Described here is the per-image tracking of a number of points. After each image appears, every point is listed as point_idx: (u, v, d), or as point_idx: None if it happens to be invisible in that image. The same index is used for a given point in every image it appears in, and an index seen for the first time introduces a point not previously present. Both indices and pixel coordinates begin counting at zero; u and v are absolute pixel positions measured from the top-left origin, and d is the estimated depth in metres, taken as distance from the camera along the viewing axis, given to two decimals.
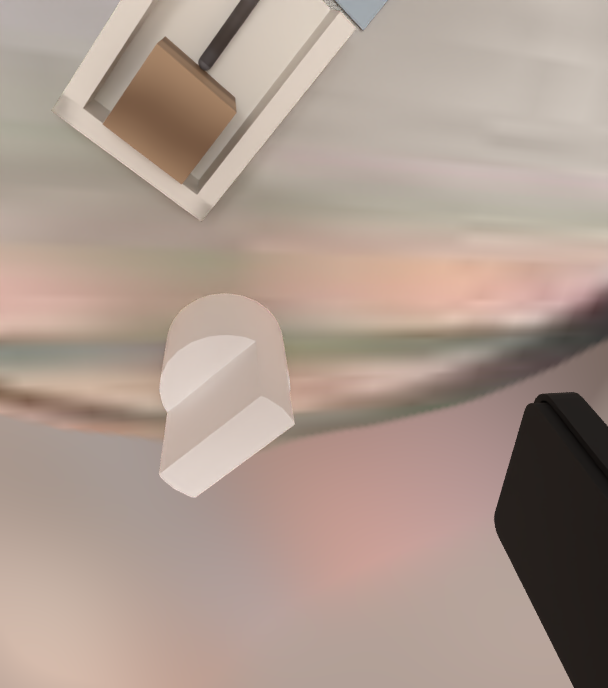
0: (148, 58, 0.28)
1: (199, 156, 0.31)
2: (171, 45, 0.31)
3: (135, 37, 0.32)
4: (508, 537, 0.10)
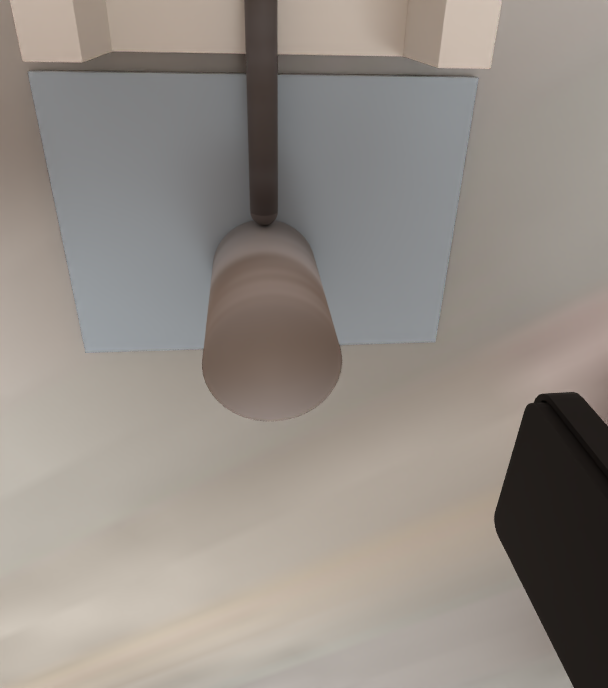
0: None
1: None
2: None
3: None
4: (508, 537, 0.10)
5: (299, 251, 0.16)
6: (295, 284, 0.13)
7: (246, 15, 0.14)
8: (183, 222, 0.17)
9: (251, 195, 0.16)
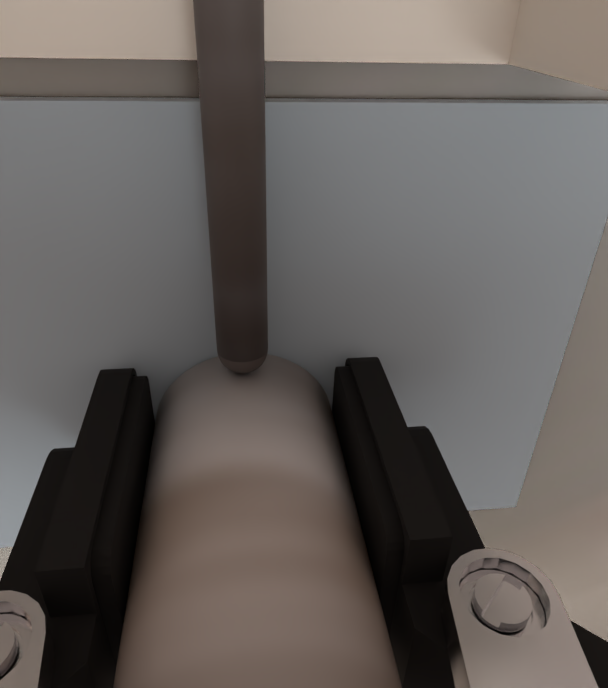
0: None
1: None
2: None
3: None
4: None
5: (310, 436, 0.08)
6: (311, 583, 0.06)
7: None
8: (99, 359, 0.10)
9: (218, 326, 0.08)
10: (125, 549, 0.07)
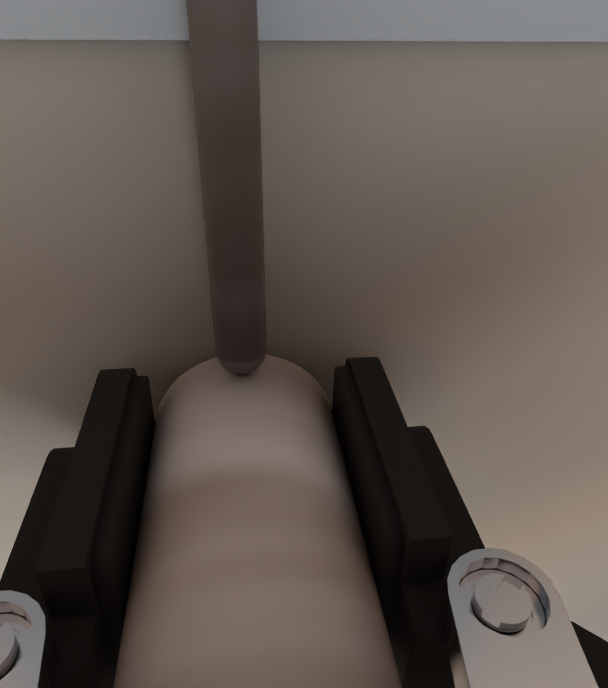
0: None
1: None
2: None
3: None
4: None
5: (309, 436, 0.08)
6: (309, 583, 0.06)
7: None
8: None
9: (216, 327, 0.08)
10: (125, 549, 0.07)
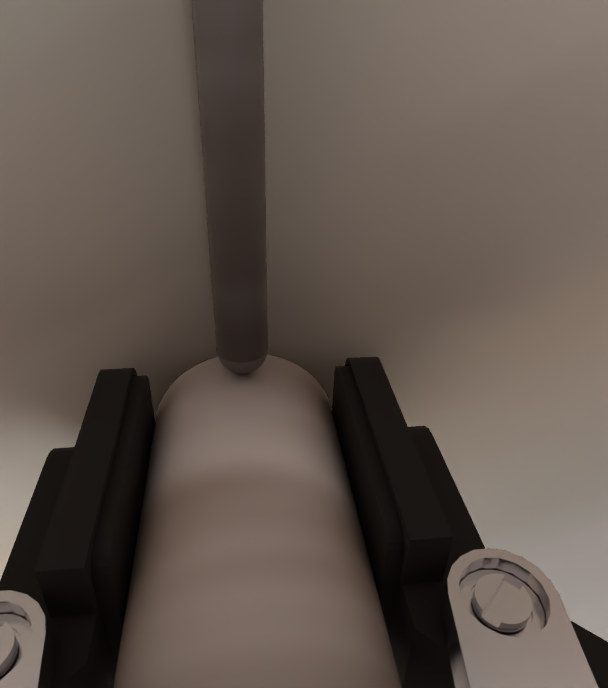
0: None
1: None
2: None
3: None
4: None
5: (310, 437, 0.08)
6: (310, 582, 0.06)
7: None
8: None
9: (217, 326, 0.08)
10: (125, 549, 0.07)
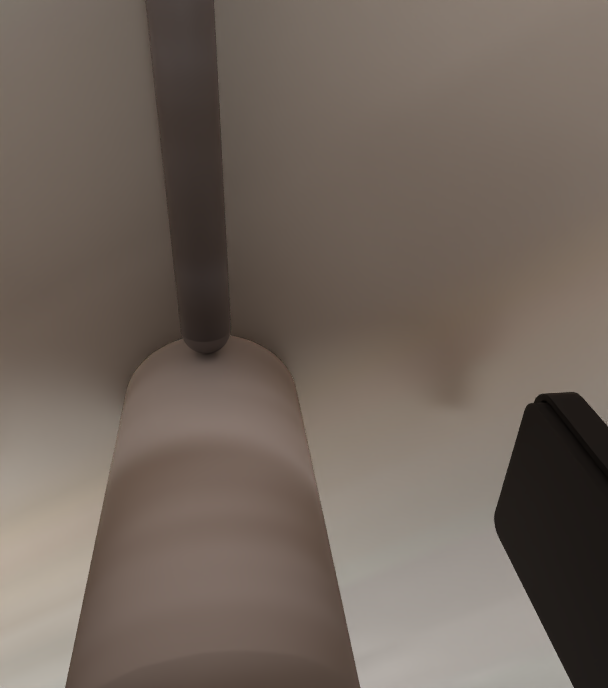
0: None
1: None
2: None
3: None
4: (508, 537, 0.10)
5: (270, 412, 0.09)
6: (261, 542, 0.06)
7: None
8: None
9: (180, 307, 0.09)
10: None
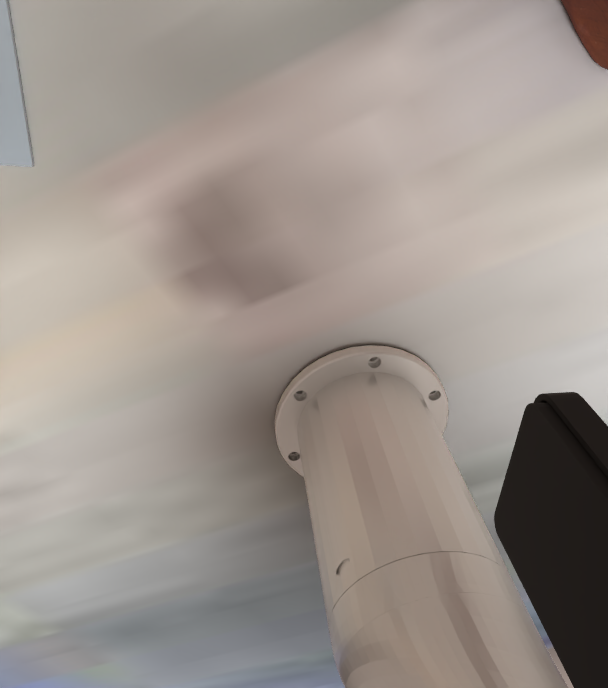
0: None
1: None
2: None
3: None
4: (508, 537, 0.10)
5: None
6: None
7: None
8: None
9: None
10: None
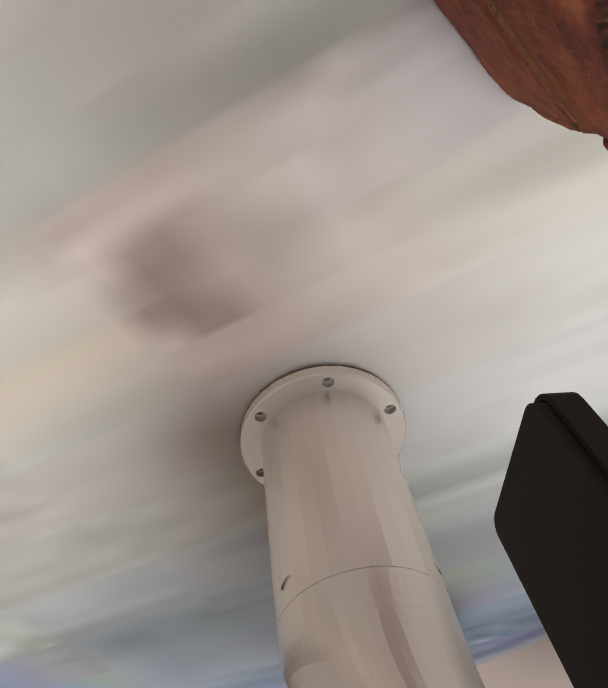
0: None
1: None
2: None
3: None
4: (508, 537, 0.10)
5: None
6: None
7: None
8: None
9: None
10: None
